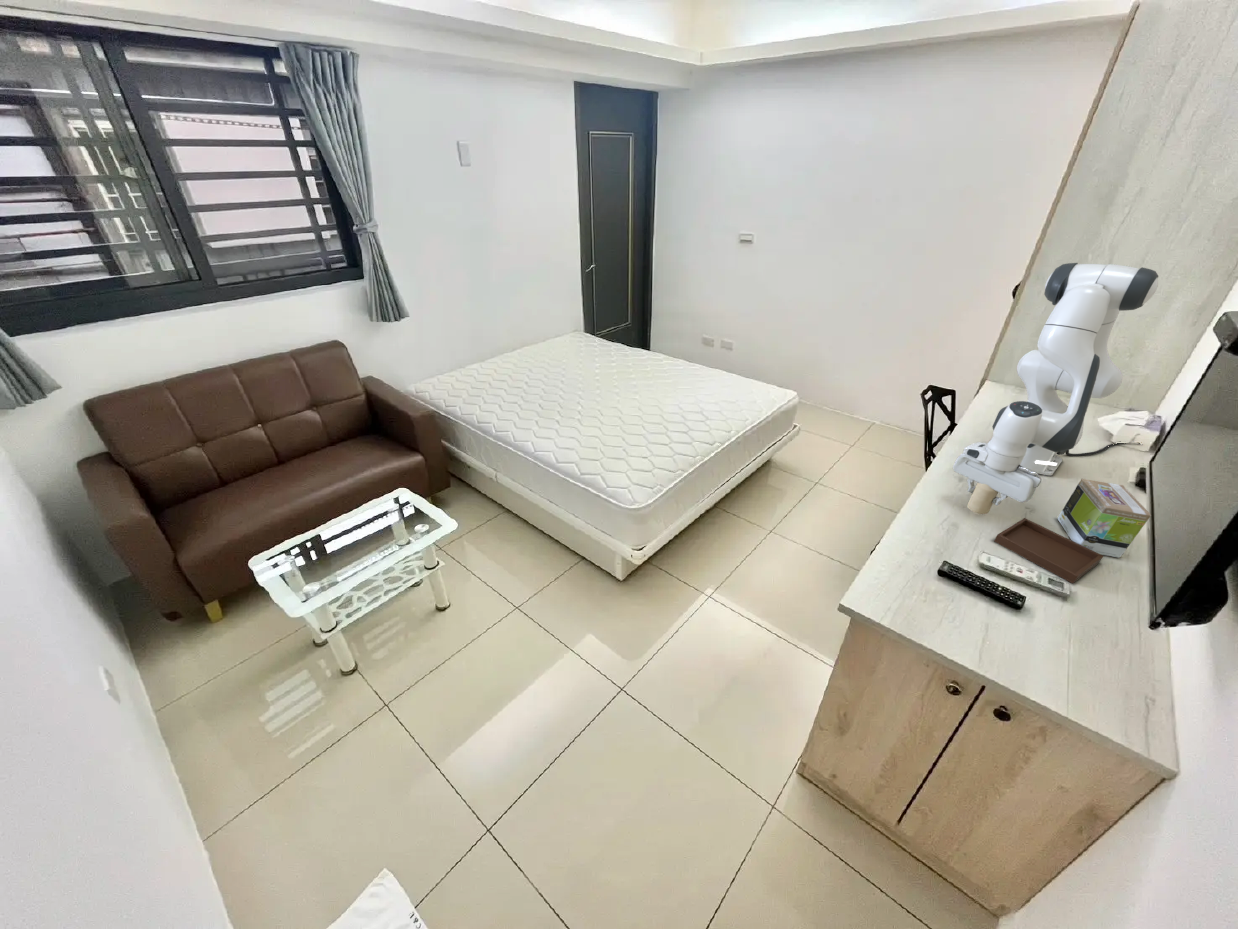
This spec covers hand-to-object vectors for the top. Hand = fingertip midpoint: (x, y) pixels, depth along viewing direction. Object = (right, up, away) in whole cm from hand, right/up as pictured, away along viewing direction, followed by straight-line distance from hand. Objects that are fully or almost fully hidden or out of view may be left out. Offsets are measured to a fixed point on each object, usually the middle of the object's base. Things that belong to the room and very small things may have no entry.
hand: (982, 497), depth 143 cm
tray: (+8, -14, -11) cm, 20 cm away
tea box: (+24, -11, -7) cm, 28 cm away
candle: (0, -4, +2) cm, 4 cm away
